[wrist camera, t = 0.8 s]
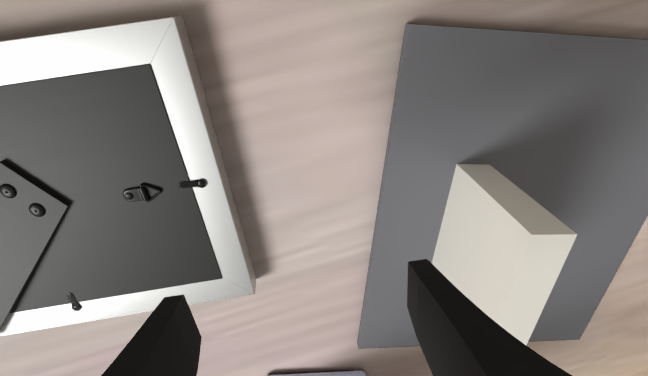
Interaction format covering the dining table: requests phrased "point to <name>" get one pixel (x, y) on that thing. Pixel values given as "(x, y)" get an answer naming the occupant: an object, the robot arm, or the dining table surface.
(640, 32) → the dining table surface
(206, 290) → the picture frame
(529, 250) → the tile
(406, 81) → the mat
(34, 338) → the dining table surface
